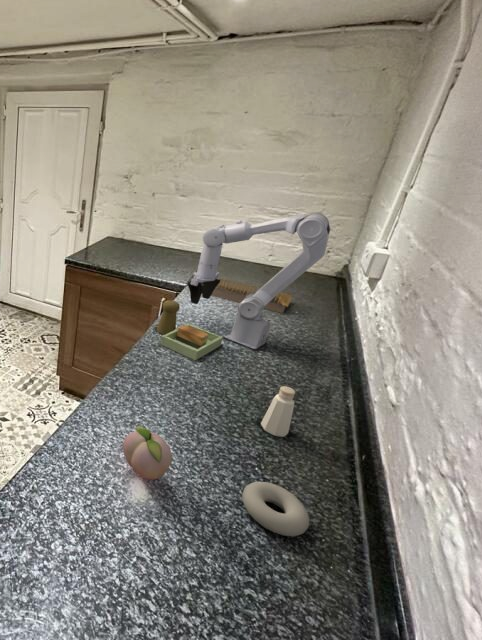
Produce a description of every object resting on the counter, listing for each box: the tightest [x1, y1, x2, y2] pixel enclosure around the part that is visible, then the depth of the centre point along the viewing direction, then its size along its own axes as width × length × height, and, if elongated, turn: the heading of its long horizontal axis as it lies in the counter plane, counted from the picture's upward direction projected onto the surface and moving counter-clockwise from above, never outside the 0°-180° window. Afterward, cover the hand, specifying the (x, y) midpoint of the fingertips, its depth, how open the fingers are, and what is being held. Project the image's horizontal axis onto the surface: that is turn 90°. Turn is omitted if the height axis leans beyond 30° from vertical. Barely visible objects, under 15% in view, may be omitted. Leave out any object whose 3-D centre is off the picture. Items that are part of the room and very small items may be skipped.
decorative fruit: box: [122, 426, 173, 480], centre depth 77 cm, size 9×8×10 cm
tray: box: [160, 323, 224, 361], centre depth 126 cm, size 12×16×3 cm
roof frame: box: [201, 277, 294, 314], centre depth 165 cm, size 35×14×6 cm, turn 48°
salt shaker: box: [260, 385, 296, 438], centre depth 89 cm, size 5×5×11 cm
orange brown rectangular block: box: [176, 324, 209, 349], centre depth 126 cm, size 8×4×4 cm, turn 37°
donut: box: [241, 481, 310, 537], centre depth 70 cm, size 10×4×10 cm
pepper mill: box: [156, 299, 180, 335], centre depth 133 cm, size 6×6×11 cm
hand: (199, 300), depth 137 cm, fingers open, 7 cm apart
